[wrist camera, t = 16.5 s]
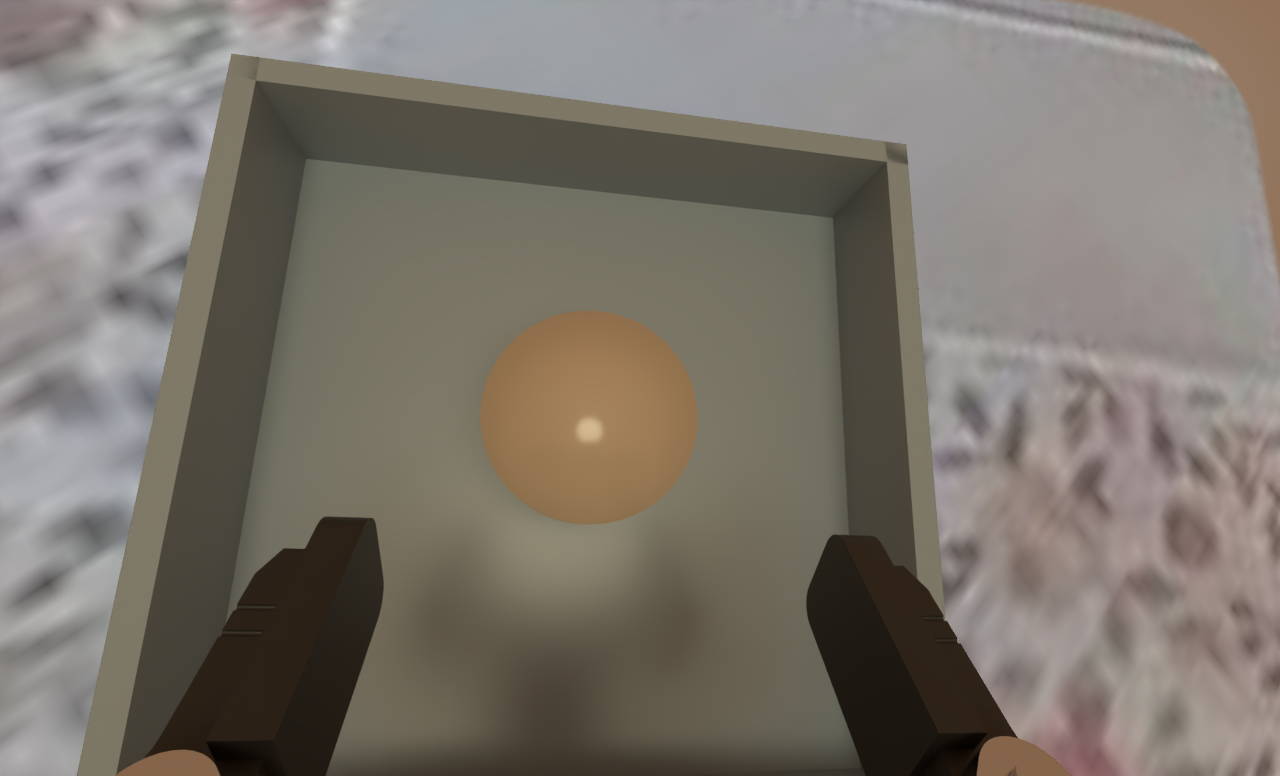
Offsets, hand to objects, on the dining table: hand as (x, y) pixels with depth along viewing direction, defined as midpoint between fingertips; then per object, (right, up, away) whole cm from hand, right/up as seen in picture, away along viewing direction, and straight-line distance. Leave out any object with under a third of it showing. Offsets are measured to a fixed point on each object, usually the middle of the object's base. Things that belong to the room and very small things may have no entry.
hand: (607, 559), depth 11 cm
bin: (-2, +1, +11) cm, 11 cm away
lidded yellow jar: (-2, +1, +10) cm, 10 cm away
